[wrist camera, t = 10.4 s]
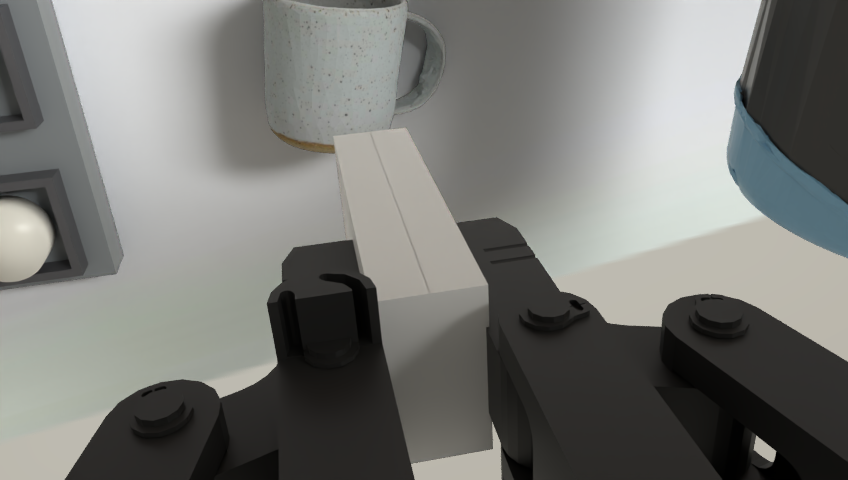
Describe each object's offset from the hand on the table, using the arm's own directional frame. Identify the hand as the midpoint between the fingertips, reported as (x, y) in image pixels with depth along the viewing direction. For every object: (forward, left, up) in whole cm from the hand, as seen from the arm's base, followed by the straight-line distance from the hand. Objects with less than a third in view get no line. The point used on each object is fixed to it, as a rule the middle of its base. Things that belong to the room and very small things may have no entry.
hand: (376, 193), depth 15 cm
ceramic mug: (-2, +4, -31) cm, 31 cm away
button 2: (+19, +11, -27) cm, 35 cm away
